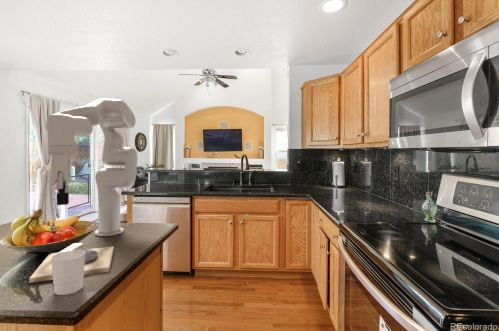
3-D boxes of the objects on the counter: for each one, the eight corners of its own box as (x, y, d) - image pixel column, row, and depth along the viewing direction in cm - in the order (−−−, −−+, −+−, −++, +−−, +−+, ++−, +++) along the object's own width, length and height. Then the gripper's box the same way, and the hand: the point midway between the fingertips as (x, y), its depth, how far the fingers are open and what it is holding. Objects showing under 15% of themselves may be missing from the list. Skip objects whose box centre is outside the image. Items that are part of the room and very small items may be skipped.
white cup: (48, 299, 70) (47, 262, 70) (56, 285, 77) (55, 251, 77) (82, 293, 73) (82, 257, 73) (87, 280, 80) (87, 248, 80)
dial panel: (113, 250, 106) (113, 238, 106) (109, 271, 87) (109, 258, 87) (50, 257, 98) (49, 245, 97) (29, 283, 78) (29, 268, 78)
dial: (69, 252, 98) (69, 238, 97) (103, 252, 99) (103, 238, 98) (43, 269, 84) (43, 252, 83) (83, 268, 85) (83, 251, 85)
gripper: (51, 150, 94) (52, 201, 95) (43, 151, 81) (45, 209, 82) (76, 151, 98) (77, 199, 99) (73, 151, 85) (74, 207, 86)
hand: (62, 204), depth 91 cm, fingers closed
